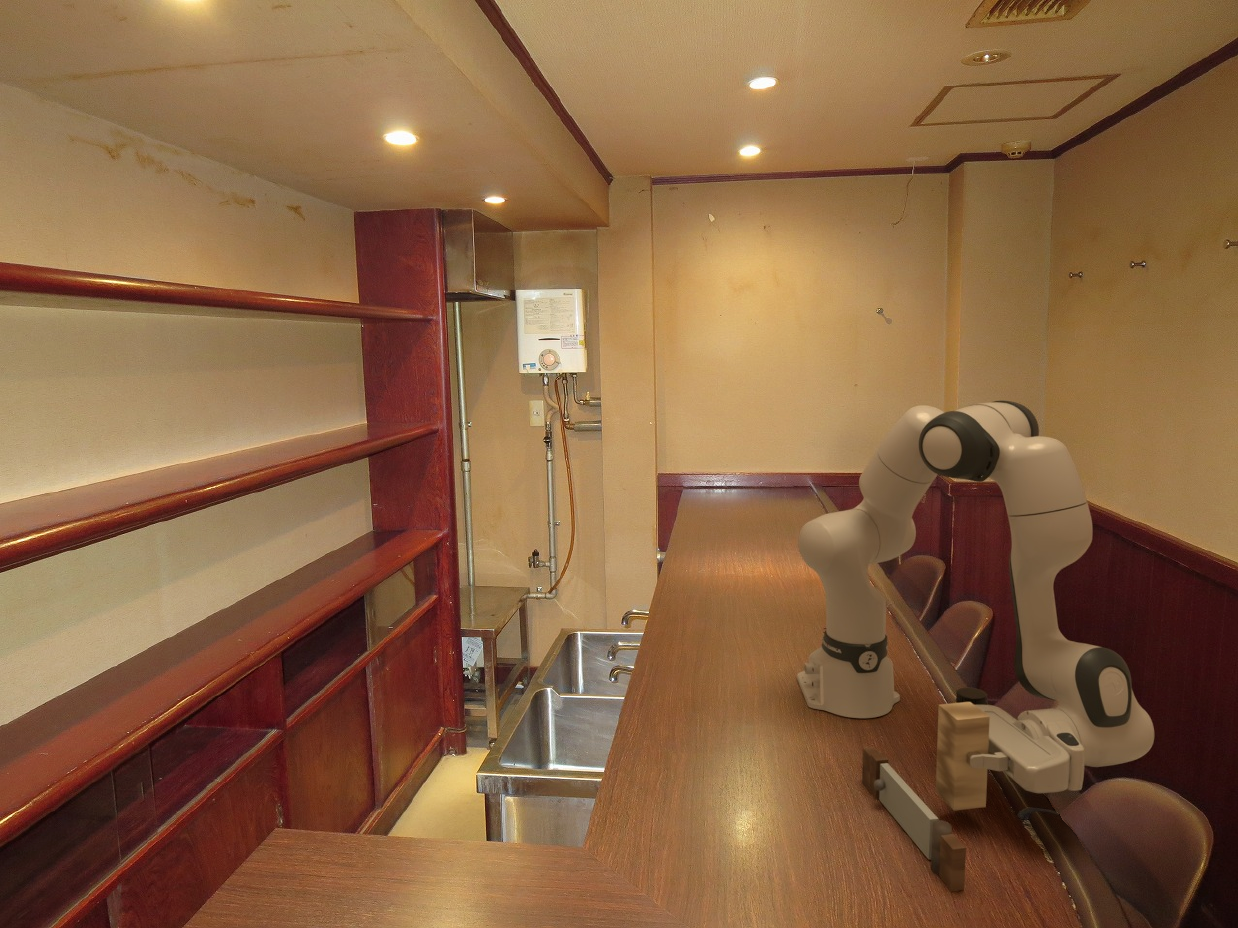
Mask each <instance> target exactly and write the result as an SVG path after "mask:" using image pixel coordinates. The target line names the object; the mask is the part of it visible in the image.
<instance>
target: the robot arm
mask: <svg viewBox="0 0 1238 928" xmlns="http://www.w3.org/2000/svg"><path fill="white" fill-rule="evenodd" d="M1071 455H1072V454H1071V453H1070V451H1069V450H1068V447H1067V446H1066V445H1065V444H1064V443H1063V442H1061V440H1059V439H1056V438H1053V437H1049V436H1042V435H1040V428H1039V423H1038V420H1037V418H1036V416H1035V415H1034V413H1033V412H1032V411H1031V410H1030V409H1029V408H1028V407H1026V406H1025V405H1023V404H1021V403H1018V402H1015V401H1009V400H995V401H991V402H989V401H988V402H981V403H980V402H979V403H973V404H970V405H969V404H968V405H967V406H965V407H961V408H958V409H956V410H948V411H943V410H942V409H940V408H938V407H935V406H932V405H927V404H926V405H925V404H921V405H916V406H913V407H911V408H908V410H906V411H905V412H904V413H903V414H902V415H901V417H900V418H898V420H897V421H896V422H895V423H894V424H893V425H892V427H890V429H889V430H888V431H887V433H886V434H885V436H884V437H883V439H882V440H881V442H880V444H879V445H878V447H877V448H876V450H875V451H874V453H873V454H872V456H871V457H870V460H869V461H868V463H867V465H866V466H865V468H864V470H863V471H862V473H861V474H860V475H859V480H858V487H859V490H860V492H861V495H862V497H863V499H862V500H861V502H860V503H859V504H857V506H855V507H854V508H851V509H845V510H841V511H836V512H829V513H825V514H822V515H819V516H818V517H815V518H813V519H811V520H809V521H808V522H806V523H805V524H804V525H802V527H801V528H800V530H799V534H798V538H797V546H798V551H799V554H800V557H801V558H802V560H803V562H804V563H805V564H806V565H807V567H808V568H810V569H811V570H813V571H814V572H815V573H816V574H817V575H818V577H819V578H820V579H819V580H820V582H821V583H822V587H823V591H824V595H825V605H826V606H825V609H826V610H825V611H826V612H825V615H826V617H825V618H826V627H824V628H823V630H825V631H823V632H822V633H823V636H822V639H821V640H822V641H821V646H820V647H818V648H817V649H815V650H814V651H812V652H811V653H810V654H809V656H808V662H805V663H804V667H803V669H804V670H802V671H799V672H797V676H796V680H797V682H798V684H799V687H800V690H801V693H802V695H803V697H804V699H805V702H806V704H807V707H809V708H810V709H815V710H819V711H820V710H821V711H826V712H829V713H831V714H834V715H836V716H841V717H845V718H853V719H873V718H877V717H881V716H885V715H886V714H889V712H891V711H892V709H893V706H894V705H895V704H896V703H898V702H900V700H901V695H900V694H899V692H897V691H895V681H894V664H893V661H892V659H890V658H889V657H888V649H889V642H888V636H887V634H886V624H887V623H886V618H887V600H886V597H885V595H884V593H882V591H881V590H879V589H878V588H877V587H876V586H874V585H872V583H871V581H870V577H869V576H870V575H869V566H870V565H875V564H879V563H883V562H888V561H891V560H894V559H895V558H898V557H899V556H901V555H903V554H904V553H906V552H908V551H909V550H910V549H911V548H912V547H913V546H914V544H915V541H916V537H917V531H916V529H917V528H916V524H915V522H914V519H913V515H914V512H915V511H916V508H917V506H918V504H919V503H921V500H922V499H923V497H924V496H925V494H926V493H927V491H928V489H929V488H930V487H931V485H932V483H933V482H934V481H935V479H936V477H937V476H942V477H946V478H950V479H957V480H965V481H972V482H977V483H981V482H984V481H986V480H987V479H991V480H993V481H994V482H995V483H996V484H997V485H998V487H999V489H1000V491H1001V493H1002V497H1003V500H1004V505H1005V509H1006V514H1007V518H1008V524H1009V528H1010V536H1011V550H1010V552H1009V558H1008V571H1009V582H1010V590H1011V597H1012V605H1013V606H1012V607H1013V615H1014V622H1015V629H1016V630H1015V631H1016V642H1015V643H1016V644H1015V650H1014V651H1015V652H1014V661H1013V662H1014V672H1015V675H1016V678H1017V680H1018V682H1019V684H1020V685H1021V687H1022V688H1023V689H1024V690H1025V691H1026V692H1027V693H1029V694H1030V695H1032V696H1034V697H1035V698H1036V697H1037V698H1040V699H1044V700H1045V699H1046V700H1050V701H1055V702H1056V701H1057V702H1058V703H1057V706H1056V707H1051V708H1042V709H1033V710H1032V709H1031V710H1025V711H1022V712H1021V713H1019V715H1018V716H1017V718H1015V717H1013V716H1012V714H1010V713H1009V712H1007V711H1005V710H1004V709H1002V708H1000V707H998V706H996V705H991V704H988V705H975V706H976V707H978V708H979V709H980V710H982V711H983V712H984V713H985V714H987V715H988V716H989V717H990V721H989V744H988V754H981V753H980V752H978V751H974V752H968V753H967V755H966V757H967V759H966V762H967V763H968V764H969V765H970V766H971V767H972V768H986V769H987V770H992V771H996V772H1003V773H1005V774H1006V775H1007V776H1008V777H1009V778H1010V779H1012V780H1013V781H1014V782H1015V783H1016V784H1018V785H1019V786H1020V787H1021V788H1022V789H1023V790H1024V791H1027V792H1030V793H1035V794H1050V793H1059V792H1065V791H1066V790H1068V791H1074V792H1077V791H1081V790H1082V788H1083V783H1084V777H1085V776H1084V775H1085V766H1086V767H1093V768H1099V767H1100V768H1101V767H1109V766H1115V765H1120V764H1124V763H1128V762H1133V761H1135V760H1138V759H1140V758H1142V757H1143V756H1145V755H1146V754H1147V753H1149V751H1150V750H1151V748H1152V747H1153V745H1154V742H1155V741H1154V740H1155V729H1154V723H1153V720H1152V719H1151V716H1150V715H1149V714H1148V712H1147V711H1146V710H1145V709H1144V708H1143V707H1142V706H1141V705H1140V703H1139V702H1138V700H1137V698H1136V696H1135V694H1134V691H1133V687H1132V686H1133V685H1132V676H1131V672H1130V669H1129V666H1128V664H1127V663H1126V661H1125V660H1124V658H1123V657H1122V656H1121V655H1120V654H1118V653H1117V652H1116V651H1114V650H1113V649H1110V648H1108V647H1107V648H1106V647H1102V646H1099V645H1093V644H1089V643H1084V642H1076V641H1072V640H1069V639H1067V638H1066V637H1065V636H1064V634H1062V632H1061V631H1060V629H1059V624H1058V616H1057V607H1056V606H1057V605H1056V599H1055V591H1054V582H1055V579H1056V576H1057V574H1058V573H1060V571H1061V570H1063V569H1064V568H1066V567H1068V566H1070V565H1071V564H1074V563H1075V562H1076V561H1078V560H1079V559H1080V558H1081V557H1082V556H1084V554H1085V553H1086V552H1087V550H1088V549H1089V547H1090V546H1091V544H1092V541H1093V529H1094V528H1093V521H1092V515H1091V512H1090V507H1089V503H1088V500H1087V495H1086V492H1085V488H1084V485H1083V482H1082V480H1081V477H1080V474H1079V472H1078V469H1077V467H1076V464H1075V462H1074V460H1073V457H1072V456H1071Z"/></svg>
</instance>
